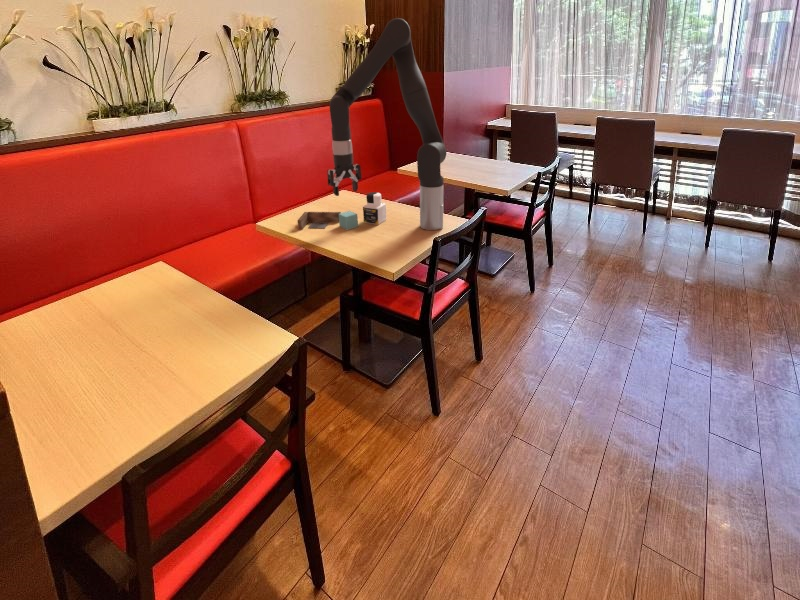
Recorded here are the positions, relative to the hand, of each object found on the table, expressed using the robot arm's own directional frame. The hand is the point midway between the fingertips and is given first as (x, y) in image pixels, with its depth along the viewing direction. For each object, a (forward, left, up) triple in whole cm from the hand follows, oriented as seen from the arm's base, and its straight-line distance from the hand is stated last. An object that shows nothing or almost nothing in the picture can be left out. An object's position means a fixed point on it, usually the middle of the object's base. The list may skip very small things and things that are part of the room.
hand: (346, 193), depth 193 cm
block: (0, 0, -14) cm, 14 cm away
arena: (+12, -1, -14) cm, 19 cm away
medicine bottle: (-10, -6, -14) cm, 18 cm away
